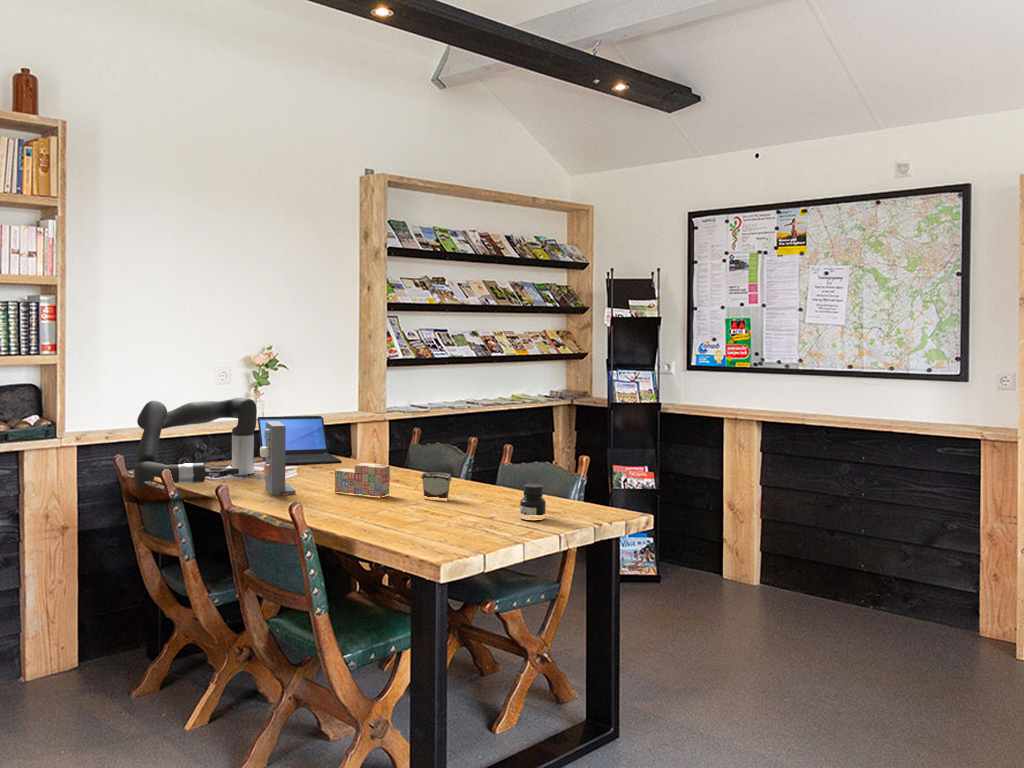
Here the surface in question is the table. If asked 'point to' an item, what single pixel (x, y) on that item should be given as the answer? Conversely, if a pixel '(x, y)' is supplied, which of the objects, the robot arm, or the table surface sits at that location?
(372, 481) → the stack of blocks
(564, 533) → the table surface
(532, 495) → the ink bottle
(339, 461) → the laptop
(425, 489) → the food container
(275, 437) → the grey upright post stand
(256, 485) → the table surface
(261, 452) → the cream button
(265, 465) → the terracotta button
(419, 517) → the table surface
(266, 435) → the slate button
